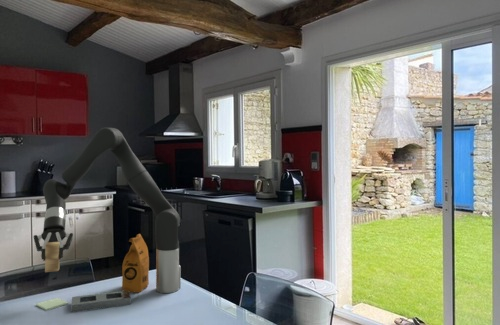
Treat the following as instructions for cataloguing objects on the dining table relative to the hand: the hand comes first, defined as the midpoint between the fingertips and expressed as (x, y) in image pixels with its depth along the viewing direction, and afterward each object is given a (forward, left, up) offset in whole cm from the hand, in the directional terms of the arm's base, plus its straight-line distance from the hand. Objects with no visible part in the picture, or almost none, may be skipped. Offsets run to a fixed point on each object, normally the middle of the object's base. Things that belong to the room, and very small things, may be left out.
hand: (52, 258), depth 141 cm
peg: (-1, -2, -5) cm, 5 cm away
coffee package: (-31, +7, -18) cm, 37 cm away
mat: (-1, -2, -17) cm, 18 cm away
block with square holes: (-12, +12, -17) cm, 25 cm away
